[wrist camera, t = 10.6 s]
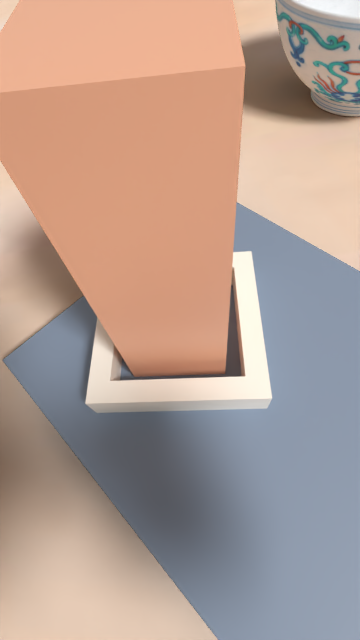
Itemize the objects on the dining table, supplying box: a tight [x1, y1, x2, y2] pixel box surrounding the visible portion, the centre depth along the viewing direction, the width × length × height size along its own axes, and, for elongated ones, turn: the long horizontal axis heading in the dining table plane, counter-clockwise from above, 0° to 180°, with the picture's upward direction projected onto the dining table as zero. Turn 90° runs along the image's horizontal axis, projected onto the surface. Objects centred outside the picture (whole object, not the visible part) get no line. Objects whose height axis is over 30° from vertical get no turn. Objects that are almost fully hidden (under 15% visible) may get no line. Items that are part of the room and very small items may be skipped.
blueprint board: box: [3, 202, 360, 640], centre depth 16 cm, size 17×22×1 cm
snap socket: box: [85, 251, 272, 413], centre depth 17 cm, size 8×8×2 cm
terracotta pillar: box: [0, 0, 245, 377], centre depth 12 cm, size 4×4×13 cm
